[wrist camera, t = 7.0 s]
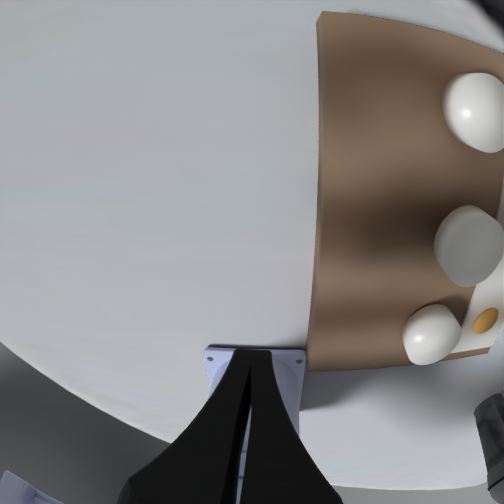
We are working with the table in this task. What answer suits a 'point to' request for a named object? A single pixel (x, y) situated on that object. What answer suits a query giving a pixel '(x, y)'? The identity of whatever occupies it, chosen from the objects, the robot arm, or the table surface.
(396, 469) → the table surface
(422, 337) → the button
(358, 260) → the button board
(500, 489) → the beverage cup
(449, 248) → the button middle
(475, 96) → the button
